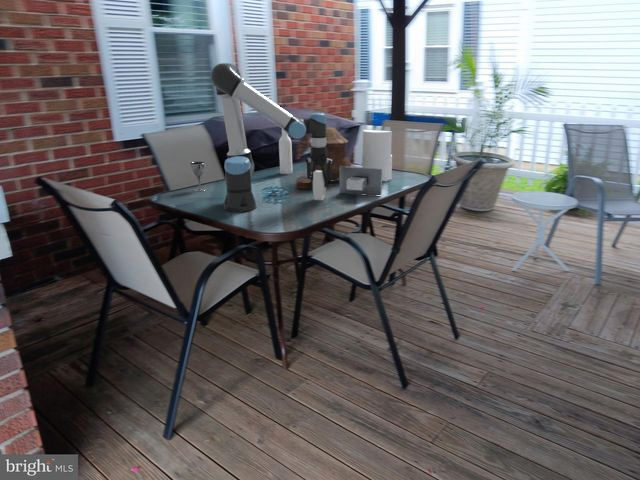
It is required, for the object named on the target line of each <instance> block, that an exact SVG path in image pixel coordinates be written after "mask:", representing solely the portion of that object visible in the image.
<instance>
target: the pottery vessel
mask: <svg viewBox="0 0 640 480" xmlns="http://www.w3.org/2000/svg"><path fill="white" fill-rule="evenodd" d="M309 140H310V141H309ZM309 140H308V141H309V144H311V138H310V139H309ZM348 142H349V140H348V139H346V138H345V137H344V136H343V135H341V133H340V132H339V130H337V129H336V128H335V127H326V147H327V158H328V159H330V160H331V159H332V160H333V161H332V164H331V179H330V180H337V179H338V180H340V166H348V167H352V163H351V161H350V160H349V158H348V157H347V143H348ZM309 147H310V148H311V147H312V146H311V145H310V146H309ZM327 165H328V163H327V161H326V162H325V168H326V173H327ZM312 169H313V162H312V160H311V173H312ZM316 170H319V171H322V169H321V167H320V166H319V165H318V166H317V169H316ZM338 180H337V181H338Z"/></svg>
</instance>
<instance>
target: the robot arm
mask: <svg viewBox="0 0 640 480" xmlns="http://www.w3.org/2000/svg"><path fill="white" fill-rule="evenodd" d="M210 81H211V83H212V85H213V86H214V87H215V93H216V97H218V98H219V99H220V102H221V108H222V113H223V120H224V125H225V126H224V127H225V133H226V137H227V143H228V144H227V145H228V152H227V153H226V157H227V159H225V161H224V167H223V168H224V175H225V189H226V194H225V199H224V203H223V209H224V211H226V212H231V213H244V212H249V211H252V210H255V209H256V208H257V202H256V199H255V196H254V193H253V191H252V190H253V189H252V175H253V174H254V171H255V163H254V160H253V158H252V151H251V150H250V148H248V145H247V138H246V132H245V131H246V130H245V127H244V118H243V113H242V106H241V102H242V103H243V104H245V105H247V106H248V107H250V108H251V109H252V110H254V111H255V112H257V113H258V114H260V115H261V116H263V117H264V118H266V119H267V120H268V121H270V122H272V123H273V124H275V125H276V126H278V127H279V128H281V130H282V129H283V130H285V131H286V133H287V134H288V135H290V137H291V138H293V139H297V140H298V139H299V140H300V139H301V138H303V137H304V136H305V135H310V139H311V143H310V146H312V147H310V157H307V158H305V163H306V179H309V180H310V186H311V187H312V194H314V187H313V172H315V171H316V169H317V166H318V165H319V166H320V167H321V169H322V172H323V178H324V181H323V194H325V195H326V193H327V187H328V183H329V181H328V180H330V179H331V164H332V161H333V160H332V159H331V160H330V159H328V158H327V147H326V128H327V115H326V114H325V113H322V112H313V113H311V114H309V115H310V116H309V117H295V116H294V115H293V114H291V113H289V112H288V111H287V110H285V109H284V108H282V107H280V105H278V104H277V103H275V102H274V101H272V100H271V99H269V98H268V97H267V96H265V95H263V94H262V93H261V92H260V91H258V90H256V89H255V88H254V87H253V86H251V85H250V84H248V83H246V81H245V78H244V77H242V75H241V72H240V70H239V69H238V68H237V67H236V66H235V65H234V64H232V63H228V62H227V63H226V62H225V63H223V62H221V63H218V64H216V65H215V66H214V67H213V68H212V69H211V72H210ZM311 160H312V162H313V169H312V172H311ZM326 161H327V163H328V165H327V173H326V168H325V162H326Z"/></svg>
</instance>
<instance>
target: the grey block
mask: <svg viewBox="0 0 640 480" xmlns="http://www.w3.org/2000/svg"><path fill="white" fill-rule="evenodd" d="M382 184H383V182H382V168H365V167H362V166H350V167H348V166H340V177H339V194H342V193H348V194H347V195H355V194H366V195H365V196H368V195H381V194H382V193H383V192H382V191H383V190H382V188H383V185H382ZM381 196H382V195H381Z"/></svg>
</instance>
